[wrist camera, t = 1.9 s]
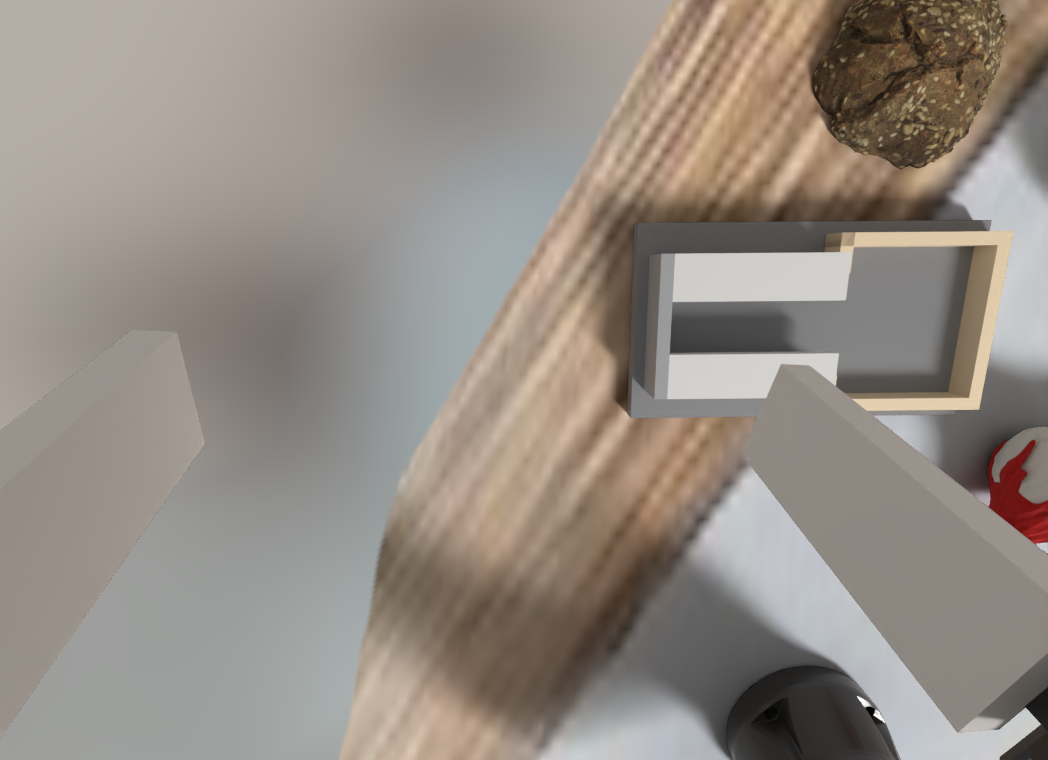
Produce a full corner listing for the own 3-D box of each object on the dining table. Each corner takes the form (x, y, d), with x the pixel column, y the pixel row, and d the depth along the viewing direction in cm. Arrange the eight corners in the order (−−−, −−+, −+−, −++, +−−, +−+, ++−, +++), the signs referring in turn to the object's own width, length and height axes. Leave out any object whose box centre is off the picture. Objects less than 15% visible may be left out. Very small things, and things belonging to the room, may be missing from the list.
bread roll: (1003, 14, 38) (1075, -24, 33) (935, 181, 40) (993, 168, 35) (847, -35, 37) (897, -81, 32) (788, 139, 39) (826, 120, 34)
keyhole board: (974, 222, 40) (1035, 215, 36) (941, 409, 44) (992, 426, 39) (634, 224, 40) (649, 218, 35) (627, 413, 44) (640, 430, 39)
